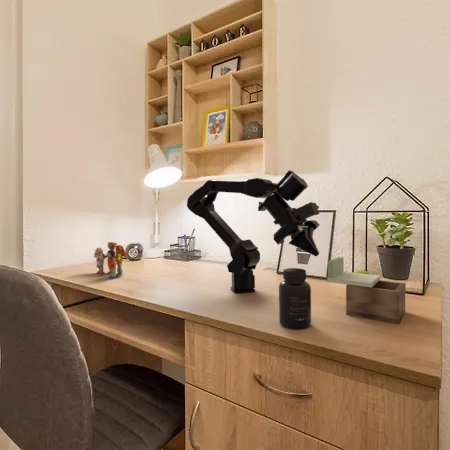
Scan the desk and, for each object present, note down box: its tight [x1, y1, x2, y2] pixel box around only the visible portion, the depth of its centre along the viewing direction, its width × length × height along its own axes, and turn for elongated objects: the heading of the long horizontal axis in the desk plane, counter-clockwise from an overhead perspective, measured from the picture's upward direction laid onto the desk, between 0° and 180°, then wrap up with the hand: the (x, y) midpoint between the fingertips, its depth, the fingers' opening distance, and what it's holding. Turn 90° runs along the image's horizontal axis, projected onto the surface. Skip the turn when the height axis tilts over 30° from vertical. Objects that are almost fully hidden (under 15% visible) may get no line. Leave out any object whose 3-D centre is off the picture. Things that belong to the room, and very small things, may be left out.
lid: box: [326, 256, 381, 288], centre depth 75 cm, size 10×10×5 cm
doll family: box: [93, 241, 130, 280], centre depth 124 cm, size 21×10×13 cm, turn 42°
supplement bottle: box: [278, 267, 312, 330], centre depth 66 cm, size 7×7×12 cm
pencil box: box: [345, 279, 406, 325], centre depth 72 cm, size 11×10×7 cm
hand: (317, 255), depth 81 cm, fingers closed
